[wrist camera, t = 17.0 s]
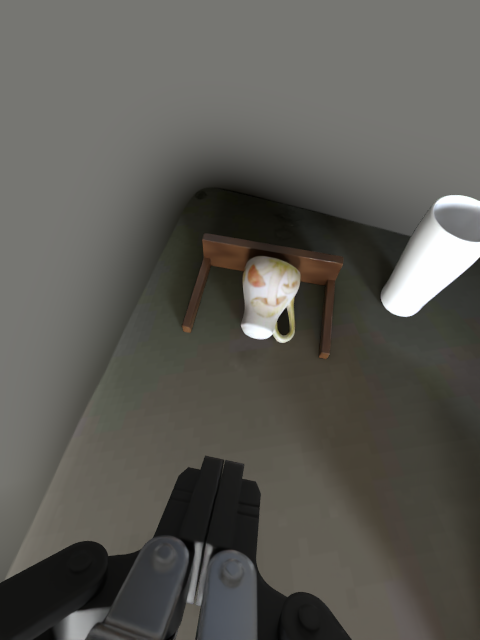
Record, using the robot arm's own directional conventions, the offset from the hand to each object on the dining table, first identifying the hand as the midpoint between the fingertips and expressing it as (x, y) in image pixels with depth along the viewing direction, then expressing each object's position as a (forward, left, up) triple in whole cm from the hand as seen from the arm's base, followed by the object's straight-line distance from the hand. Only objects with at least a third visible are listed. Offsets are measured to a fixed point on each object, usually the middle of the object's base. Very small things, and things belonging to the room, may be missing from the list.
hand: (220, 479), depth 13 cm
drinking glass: (+18, +28, -24) cm, 41 cm away
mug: (+1, +22, -24) cm, 33 cm away
